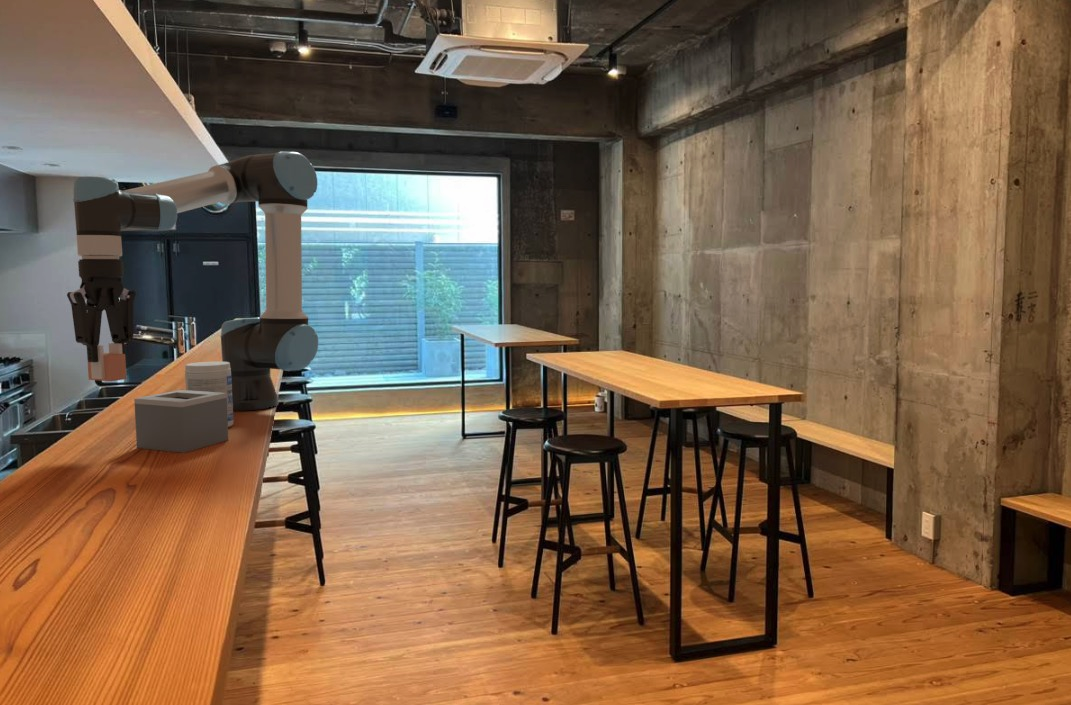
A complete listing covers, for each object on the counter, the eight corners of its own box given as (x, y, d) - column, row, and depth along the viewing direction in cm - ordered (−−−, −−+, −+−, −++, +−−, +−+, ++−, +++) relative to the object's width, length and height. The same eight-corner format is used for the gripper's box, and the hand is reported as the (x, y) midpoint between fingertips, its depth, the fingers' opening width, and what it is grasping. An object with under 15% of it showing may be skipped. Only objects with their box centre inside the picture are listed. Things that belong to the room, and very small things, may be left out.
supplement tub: (240, 427, 168) (237, 363, 166) (197, 433, 161) (193, 367, 160) (223, 421, 175) (221, 359, 173) (181, 427, 168) (178, 363, 167)
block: (88, 379, 146) (87, 354, 146) (104, 377, 149) (103, 352, 149) (111, 381, 144) (109, 355, 144) (126, 379, 147) (125, 354, 147)
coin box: (183, 435, 159) (181, 389, 158) (228, 440, 155) (226, 392, 154) (136, 447, 148) (134, 398, 147) (184, 452, 144) (181, 402, 143)
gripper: (122, 258, 153) (129, 370, 156) (45, 257, 138) (54, 381, 140) (150, 258, 151) (156, 372, 153) (74, 257, 135) (83, 384, 138)
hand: (107, 376), depth 147 cm, fingers closed on block, 3 cm apart
